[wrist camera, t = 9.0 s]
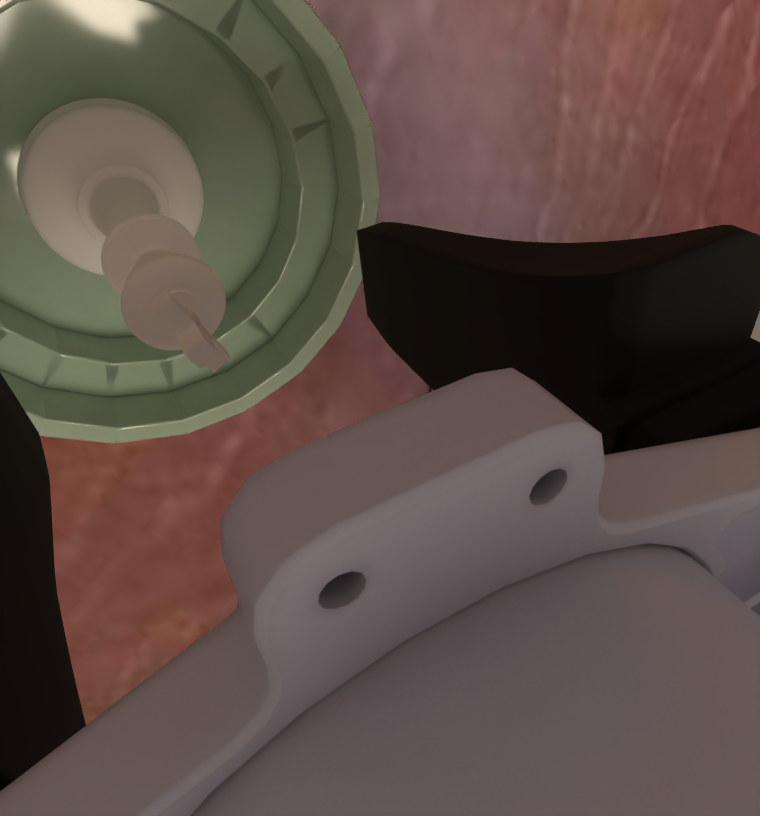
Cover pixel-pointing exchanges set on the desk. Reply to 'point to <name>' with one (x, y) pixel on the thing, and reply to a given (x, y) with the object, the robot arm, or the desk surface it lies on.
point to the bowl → (222, 212)
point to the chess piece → (127, 218)
